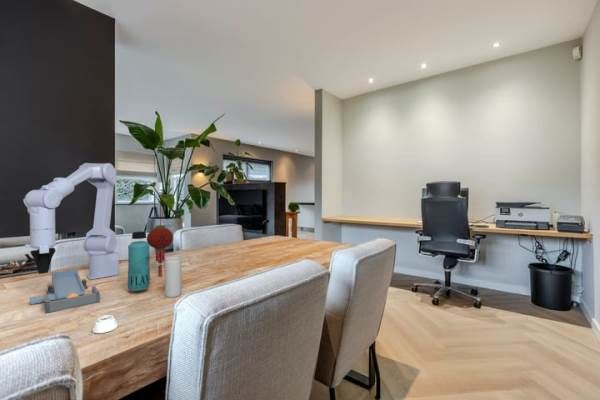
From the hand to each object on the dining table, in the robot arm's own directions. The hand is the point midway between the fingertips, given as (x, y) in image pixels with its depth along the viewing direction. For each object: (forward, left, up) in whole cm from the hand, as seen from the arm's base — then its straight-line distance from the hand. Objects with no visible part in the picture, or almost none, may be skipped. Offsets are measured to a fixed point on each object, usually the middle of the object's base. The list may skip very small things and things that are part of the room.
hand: (43, 273), depth 86 cm
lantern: (-34, -1, -8) cm, 35 cm away
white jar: (-10, +36, -8) cm, 39 cm away
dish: (-6, +11, -8) cm, 15 cm away
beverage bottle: (-23, +13, -8) cm, 28 cm away
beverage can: (-30, +24, -8) cm, 39 cm away
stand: (-6, -4, -8) cm, 11 cm away
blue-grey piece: (-3, -4, -7) cm, 9 cm away
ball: (-6, +12, -6) cm, 15 cm away
